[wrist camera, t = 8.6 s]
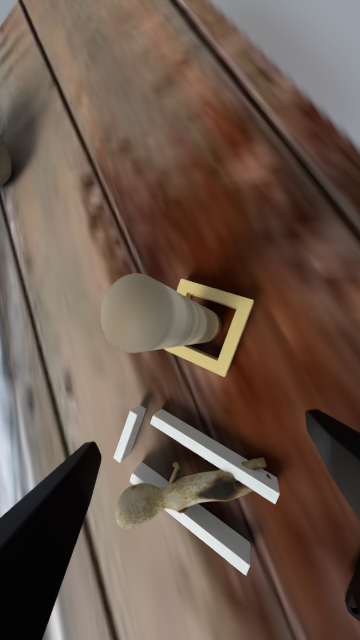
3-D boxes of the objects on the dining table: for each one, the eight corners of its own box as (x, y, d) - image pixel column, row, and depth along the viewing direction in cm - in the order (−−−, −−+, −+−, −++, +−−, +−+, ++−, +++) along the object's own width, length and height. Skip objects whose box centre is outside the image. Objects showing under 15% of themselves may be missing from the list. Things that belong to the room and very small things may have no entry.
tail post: (226, 316, 21) (180, 285, 8) (215, 347, 21) (151, 366, 8) (196, 305, 22) (115, 265, 9) (185, 335, 23) (91, 335, 10)
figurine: (254, 438, 21) (124, 474, 22) (267, 461, 17) (104, 504, 18) (267, 476, 20) (132, 511, 21) (284, 510, 16) (113, 552, 17)
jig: (338, 328, 17) (348, 327, 16) (246, 551, 19) (245, 575, 17) (183, 281, 23) (177, 277, 21) (121, 455, 25) (110, 465, 23)
